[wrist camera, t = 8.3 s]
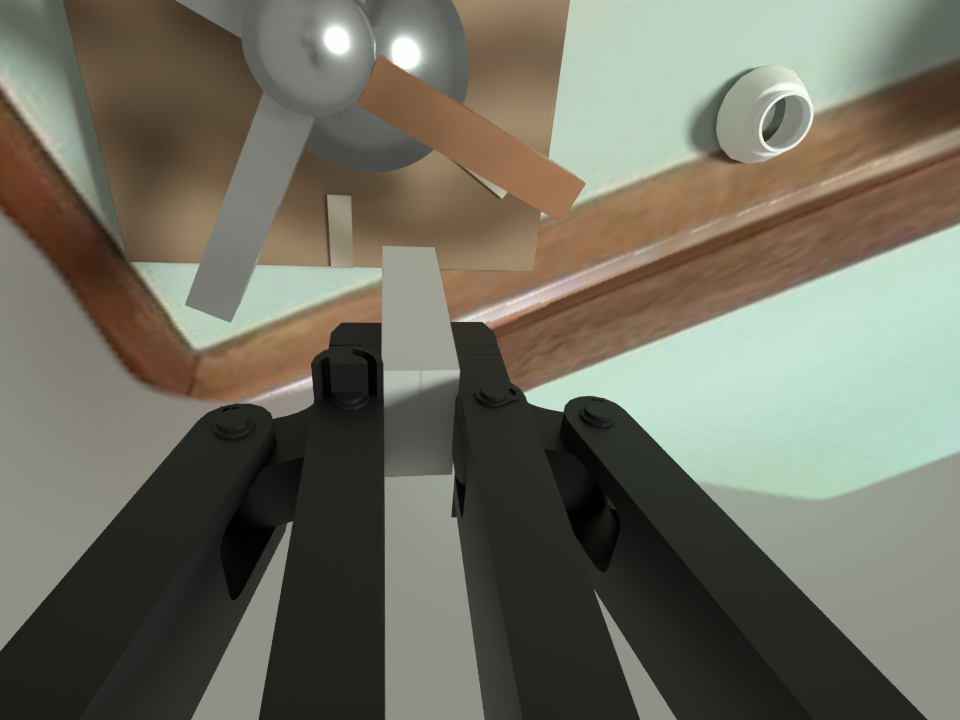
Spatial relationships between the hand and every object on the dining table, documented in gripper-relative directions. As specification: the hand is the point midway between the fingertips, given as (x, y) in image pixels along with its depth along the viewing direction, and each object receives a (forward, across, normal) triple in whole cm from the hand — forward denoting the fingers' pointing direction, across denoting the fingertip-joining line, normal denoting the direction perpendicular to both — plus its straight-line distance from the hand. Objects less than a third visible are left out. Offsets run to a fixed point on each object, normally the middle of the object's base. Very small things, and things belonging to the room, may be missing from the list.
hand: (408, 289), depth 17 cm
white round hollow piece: (+17, +20, +4) cm, 27 cm away
